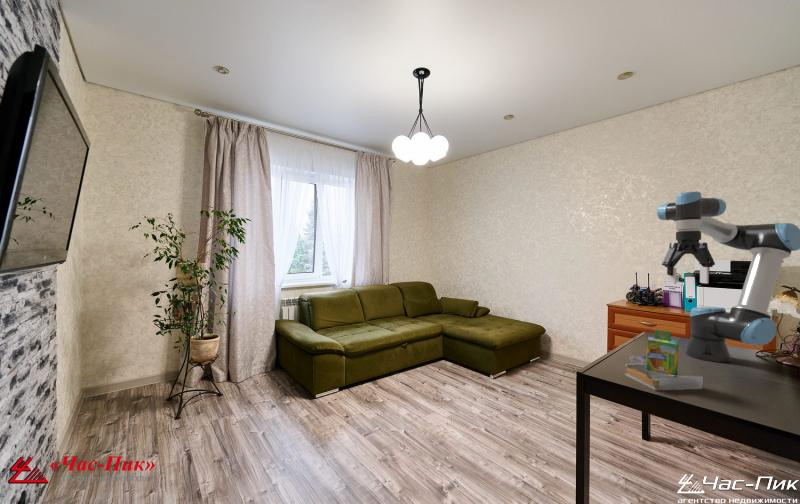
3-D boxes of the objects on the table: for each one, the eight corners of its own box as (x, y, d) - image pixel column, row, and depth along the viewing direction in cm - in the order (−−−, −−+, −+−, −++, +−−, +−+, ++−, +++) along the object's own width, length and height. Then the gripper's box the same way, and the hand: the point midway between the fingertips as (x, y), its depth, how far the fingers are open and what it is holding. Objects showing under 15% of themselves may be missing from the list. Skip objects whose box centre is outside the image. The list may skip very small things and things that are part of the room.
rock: (664, 374, 127) (663, 363, 127) (629, 368, 134) (629, 357, 134) (663, 368, 133) (663, 357, 133) (630, 363, 140) (629, 352, 140)
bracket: (667, 373, 128) (667, 362, 128) (702, 388, 114) (702, 376, 114) (625, 374, 127) (625, 363, 126) (655, 390, 113) (655, 378, 113)
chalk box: (646, 370, 120) (646, 331, 119) (647, 363, 126) (647, 327, 126) (678, 376, 114) (678, 335, 113) (678, 369, 120) (678, 330, 120)
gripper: (707, 231, 131) (707, 281, 131) (650, 231, 130) (650, 282, 130) (727, 230, 123) (727, 283, 124) (667, 230, 122) (667, 284, 122)
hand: (688, 283), depth 127 cm, fingers open, 13 cm apart
